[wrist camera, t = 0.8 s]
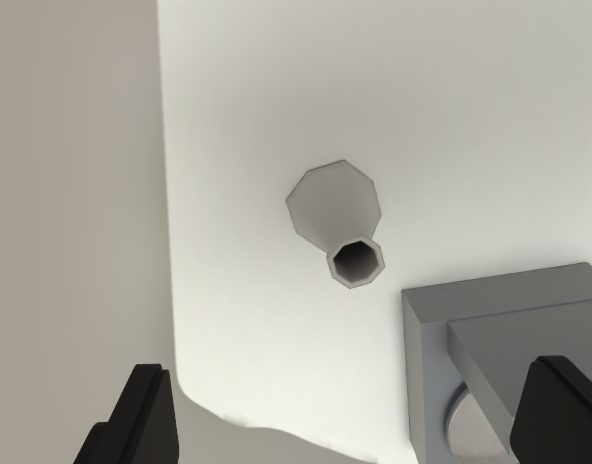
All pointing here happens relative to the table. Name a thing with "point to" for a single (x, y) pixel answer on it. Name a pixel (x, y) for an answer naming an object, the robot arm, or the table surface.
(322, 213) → the flask
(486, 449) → the pan
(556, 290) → the scale
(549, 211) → the table surface
